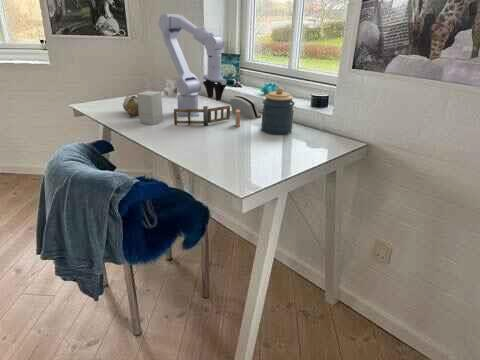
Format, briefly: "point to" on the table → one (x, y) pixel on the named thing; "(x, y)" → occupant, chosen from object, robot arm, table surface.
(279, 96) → the canister
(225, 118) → the gate
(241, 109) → the grey arched piece
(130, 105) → the ceramic sculpture
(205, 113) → the hinge post
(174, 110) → the fence
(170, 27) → the robot arm
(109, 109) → the table surface
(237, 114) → the post
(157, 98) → the supplement box
